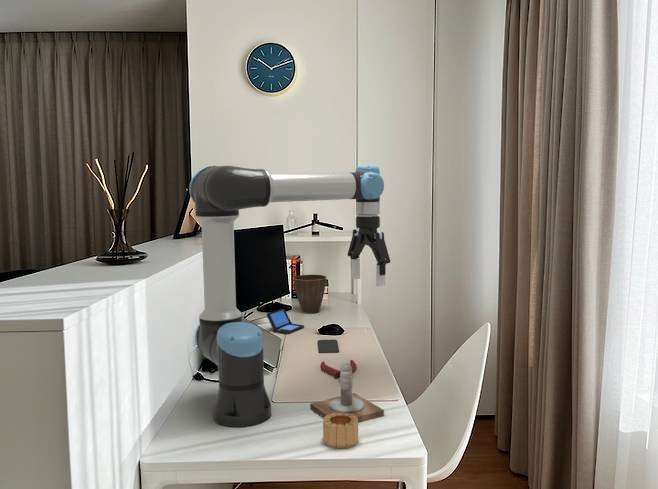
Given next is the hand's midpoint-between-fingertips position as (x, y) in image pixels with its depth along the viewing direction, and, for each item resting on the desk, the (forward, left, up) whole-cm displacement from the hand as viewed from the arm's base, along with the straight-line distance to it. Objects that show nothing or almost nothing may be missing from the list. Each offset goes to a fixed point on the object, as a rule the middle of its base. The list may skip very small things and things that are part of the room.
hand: (368, 282), depth 186 cm
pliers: (-12, 0, -29) cm, 31 cm away
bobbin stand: (-25, -26, -28) cm, 46 cm away
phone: (+1, +27, -29) cm, 39 cm away
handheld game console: (-1, +57, -28) cm, 63 cm away
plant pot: (+22, +78, -28) cm, 85 cm away
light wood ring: (-35, -39, -28) cm, 60 cm away
